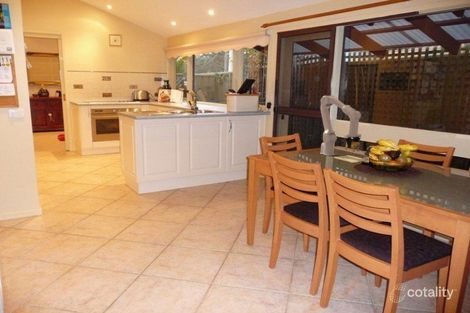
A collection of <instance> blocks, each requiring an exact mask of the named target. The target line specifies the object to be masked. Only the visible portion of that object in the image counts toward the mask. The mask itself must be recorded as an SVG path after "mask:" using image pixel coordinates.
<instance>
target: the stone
mask: <svg viewBox="0 0 470 313" xmlns="http://www.w3.org/2000/svg"><path fill="white" fill-rule="evenodd" d="M375 146H376V145H369V146H368V147H367V148H366V149H365V150H366V151H365V152H364V153H363V158H362V161H361V162H360V164H370V163H369V152H370V149H371V148H372V147H375Z"/></svg>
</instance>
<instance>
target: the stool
mask: <svg viewBox="0 0 470 313" xmlns="http://www.w3.org/2000/svg"><path fill="white" fill-rule="evenodd" d="M344 149H345V150H346V151H347V150H348V149H349V150H352V152H355V150H356V152H360V142H354V141H353V140H352V143H351V148H348V147H347V142H346V141H345V148H344Z"/></svg>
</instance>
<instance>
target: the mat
mask: <svg viewBox="0 0 470 313" xmlns="http://www.w3.org/2000/svg"><path fill="white" fill-rule="evenodd" d="M333 158H334V159H336V160H339V161H340V160H341V161H343V162H348V163H351V164H356V163H361V161H362V159H363V158H361V157H358V156H353V155H341V156H333Z"/></svg>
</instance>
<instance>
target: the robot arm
mask: <svg viewBox="0 0 470 313" xmlns="http://www.w3.org/2000/svg"><path fill="white" fill-rule="evenodd" d="M333 105H335V106H337V107H338V108H340V109H341V111H342V112H343V113H344V114H345V115H346V116H348V118H349V130H348V131H349V132H348V134H344V140H345V143H346V142H347V147H348V148H347V149H350V148H351V143H352V141H354V142H358V143H360V140H361V138H362V134H359V124H360V123H359V122H360V119H361V117H362V113H361V112H360V111H359V110H356V109H355V108H352V107H351V105H348V104H344V103H343V102H342V101H340V100H339V99H338V98H337V97H336V96H334V95H323V96H322V97H321V98H320V106H319V107H320V113H321V119H322V124H323V128H324V131H323V133H322V141H323V142H322V143H321V145H320V152H319V155H323V156H328V157H330V156H337V154H336V153H335V143H336V142H337V139H338V136H337V134H336V132H335V131H334V130H333V127H332V121H331V116H330V111H329V109H330V108H331V107H332V106H333Z"/></svg>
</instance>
